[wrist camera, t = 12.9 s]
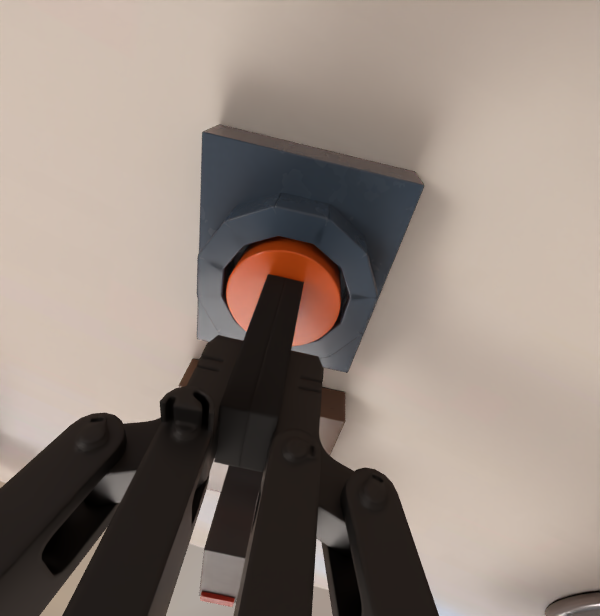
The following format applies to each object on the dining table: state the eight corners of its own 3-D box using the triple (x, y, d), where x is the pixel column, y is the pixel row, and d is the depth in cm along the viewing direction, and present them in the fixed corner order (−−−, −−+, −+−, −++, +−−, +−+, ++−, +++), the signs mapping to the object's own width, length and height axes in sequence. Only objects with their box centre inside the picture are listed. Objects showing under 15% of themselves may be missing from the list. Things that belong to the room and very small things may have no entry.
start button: (326, 333, 18) (324, 356, 16) (232, 312, 17) (221, 333, 16) (354, 247, 15) (355, 266, 13) (241, 220, 15) (230, 237, 13)
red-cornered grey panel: (240, 423, 23) (202, 555, 17) (275, 431, 23) (249, 565, 17) (230, 480, 28) (197, 600, 22) (259, 486, 28) (234, 608, 22)
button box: (347, 348, 22) (348, 397, 18) (208, 316, 21) (184, 361, 18) (415, 171, 15) (435, 199, 12) (218, 124, 15) (183, 139, 12)
